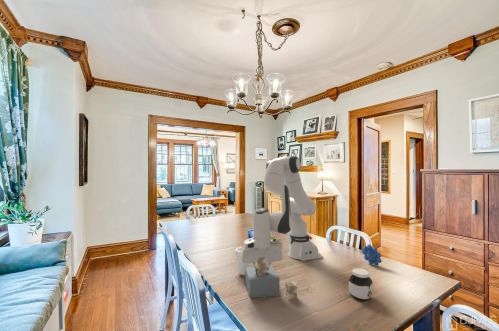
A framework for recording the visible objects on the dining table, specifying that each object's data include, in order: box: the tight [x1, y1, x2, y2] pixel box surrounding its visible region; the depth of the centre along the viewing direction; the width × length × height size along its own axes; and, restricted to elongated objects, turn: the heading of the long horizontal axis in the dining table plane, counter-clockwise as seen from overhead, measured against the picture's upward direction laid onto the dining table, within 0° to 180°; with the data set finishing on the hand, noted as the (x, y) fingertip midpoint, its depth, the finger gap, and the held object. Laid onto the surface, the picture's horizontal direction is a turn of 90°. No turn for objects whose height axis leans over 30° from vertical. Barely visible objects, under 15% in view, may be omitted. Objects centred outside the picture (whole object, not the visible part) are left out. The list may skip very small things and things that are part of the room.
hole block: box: [244, 265, 281, 299], centre depth 115 cm, size 14×14×8 cm
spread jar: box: [348, 267, 374, 302], centre depth 111 cm, size 12×11×12 cm
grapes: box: [361, 244, 382, 267], centre depth 145 cm, size 12×7×12 cm, turn 38°
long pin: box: [256, 257, 268, 276], centre depth 116 cm, size 4×4×14 cm
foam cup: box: [235, 246, 252, 276], centre depth 134 cm, size 10×9×13 cm
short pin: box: [285, 281, 298, 301], centre depth 108 cm, size 4×4×6 cm
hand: (261, 270), depth 116 cm, fingers closed on long pin, 4 cm apart
